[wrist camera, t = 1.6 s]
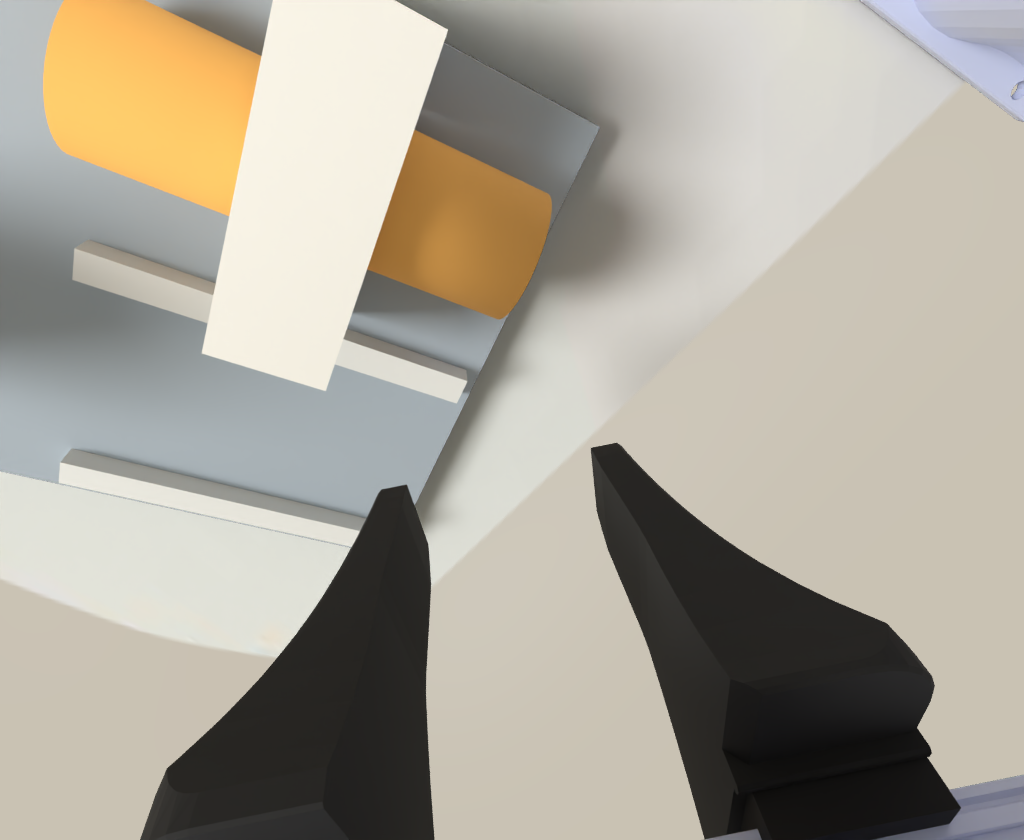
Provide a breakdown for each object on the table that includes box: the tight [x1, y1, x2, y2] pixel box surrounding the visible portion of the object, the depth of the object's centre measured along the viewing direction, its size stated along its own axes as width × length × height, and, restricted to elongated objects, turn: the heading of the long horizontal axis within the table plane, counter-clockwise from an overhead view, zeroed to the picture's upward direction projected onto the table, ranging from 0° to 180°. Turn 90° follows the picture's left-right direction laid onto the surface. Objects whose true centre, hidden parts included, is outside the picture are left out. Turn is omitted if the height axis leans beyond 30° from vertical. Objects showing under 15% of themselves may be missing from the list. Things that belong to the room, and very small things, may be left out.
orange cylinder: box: [43, 0, 552, 320], centre depth 15 cm, size 11×4×4 cm, turn 65°
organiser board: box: [0, 0, 600, 548], centre depth 19 cm, size 17×19×2 cm
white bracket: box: [202, 0, 448, 391], centre depth 14 cm, size 3×9×5 cm, turn 155°
